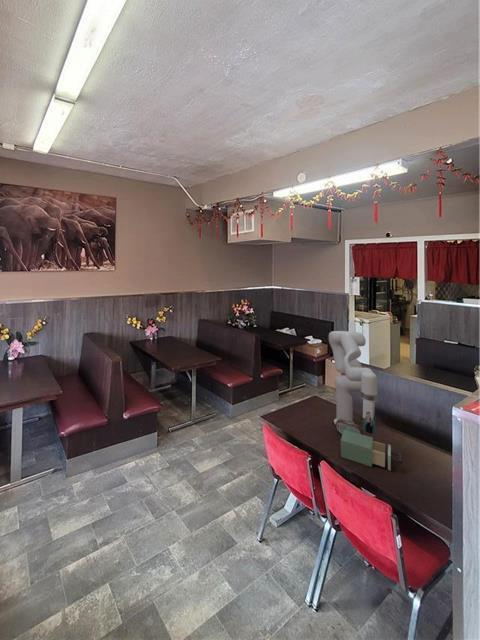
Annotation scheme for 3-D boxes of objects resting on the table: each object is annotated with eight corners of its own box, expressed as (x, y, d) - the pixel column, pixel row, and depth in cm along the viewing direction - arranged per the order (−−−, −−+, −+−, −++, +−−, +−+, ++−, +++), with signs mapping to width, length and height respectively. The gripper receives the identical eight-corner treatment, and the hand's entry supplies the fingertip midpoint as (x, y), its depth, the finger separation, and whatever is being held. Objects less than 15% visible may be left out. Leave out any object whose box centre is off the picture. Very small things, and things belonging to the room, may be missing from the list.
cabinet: (373, 454, 167) (373, 437, 167) (371, 467, 156) (371, 449, 157) (343, 445, 175) (343, 429, 175) (340, 456, 164) (340, 439, 165)
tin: (363, 440, 180) (363, 425, 180) (361, 442, 178) (361, 428, 178) (336, 430, 190) (336, 416, 190) (335, 432, 188) (335, 418, 188)
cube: (364, 426, 167) (364, 417, 167) (375, 429, 164) (374, 420, 164) (363, 431, 163) (363, 421, 163) (374, 434, 160) (374, 424, 160)
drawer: (402, 461, 159) (401, 447, 159) (402, 474, 150) (402, 459, 150) (362, 449, 169) (362, 436, 169) (360, 460, 160) (360, 446, 160)
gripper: (362, 389, 173) (363, 421, 172) (359, 400, 159) (359, 435, 158) (378, 392, 168) (378, 425, 168) (376, 403, 154) (376, 439, 154)
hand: (369, 429), depth 163 cm, fingers closed on cube, 5 cm apart
